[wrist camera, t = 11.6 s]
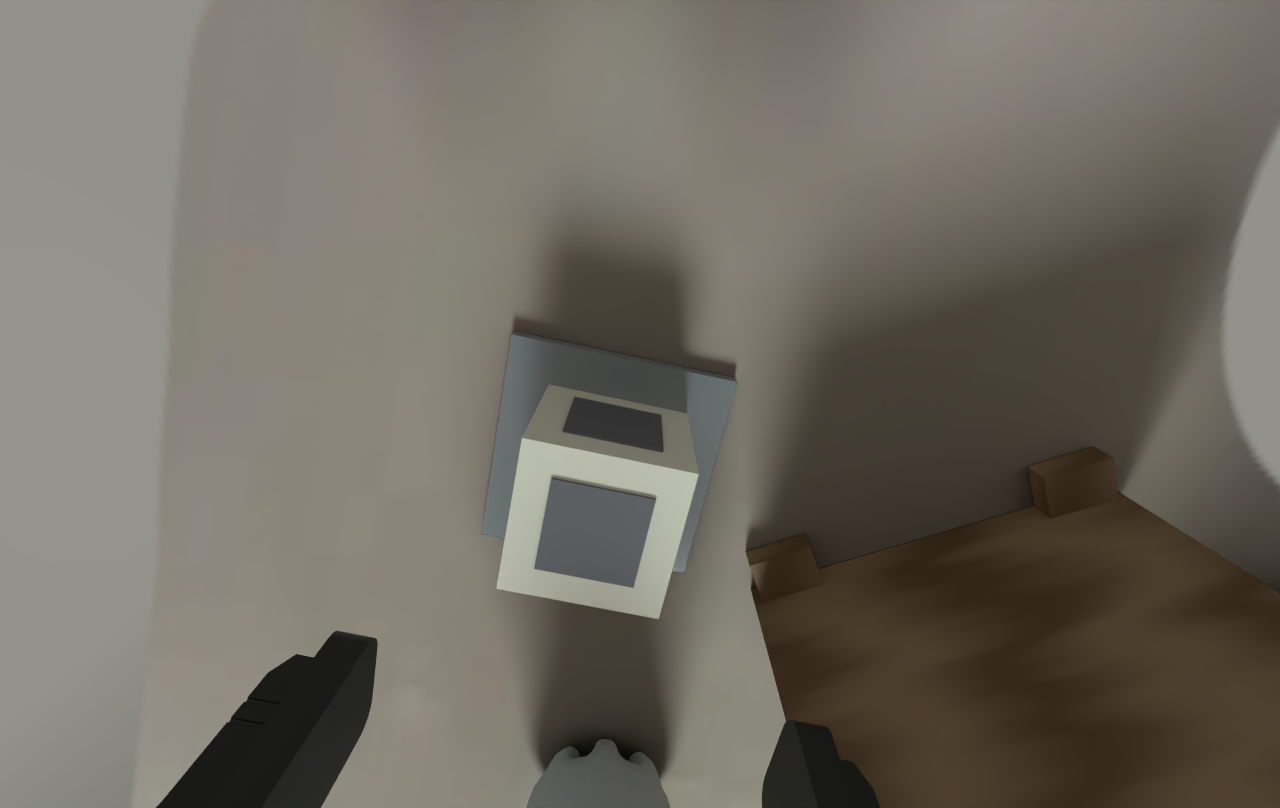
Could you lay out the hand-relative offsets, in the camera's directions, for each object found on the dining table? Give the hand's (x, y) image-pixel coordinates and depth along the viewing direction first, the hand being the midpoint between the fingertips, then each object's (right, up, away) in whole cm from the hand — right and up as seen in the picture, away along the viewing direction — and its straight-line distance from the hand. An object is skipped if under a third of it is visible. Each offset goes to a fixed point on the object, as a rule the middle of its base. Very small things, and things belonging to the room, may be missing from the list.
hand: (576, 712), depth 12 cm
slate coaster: (0, +4, +11) cm, 12 cm away
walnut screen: (+13, 0, +12) cm, 18 cm away
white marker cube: (0, +4, +11) cm, 11 cm away
